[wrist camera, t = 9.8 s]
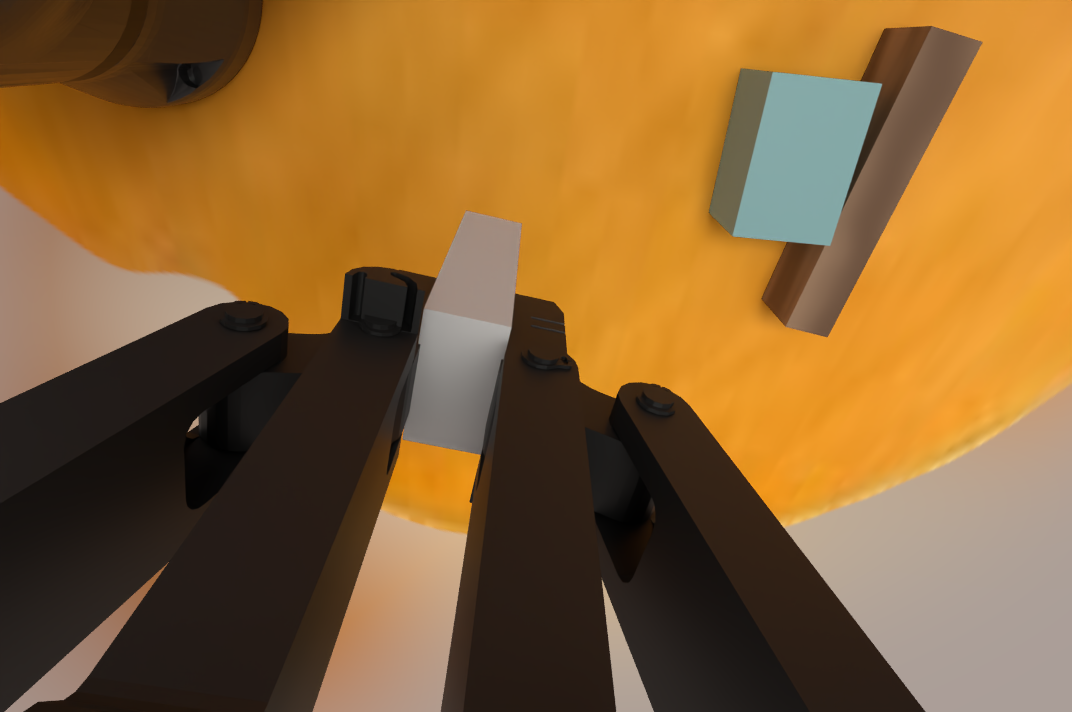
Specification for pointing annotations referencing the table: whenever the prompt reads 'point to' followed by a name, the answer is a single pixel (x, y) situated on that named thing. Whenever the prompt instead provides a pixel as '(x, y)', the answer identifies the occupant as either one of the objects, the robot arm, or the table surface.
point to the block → (790, 155)
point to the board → (874, 172)
